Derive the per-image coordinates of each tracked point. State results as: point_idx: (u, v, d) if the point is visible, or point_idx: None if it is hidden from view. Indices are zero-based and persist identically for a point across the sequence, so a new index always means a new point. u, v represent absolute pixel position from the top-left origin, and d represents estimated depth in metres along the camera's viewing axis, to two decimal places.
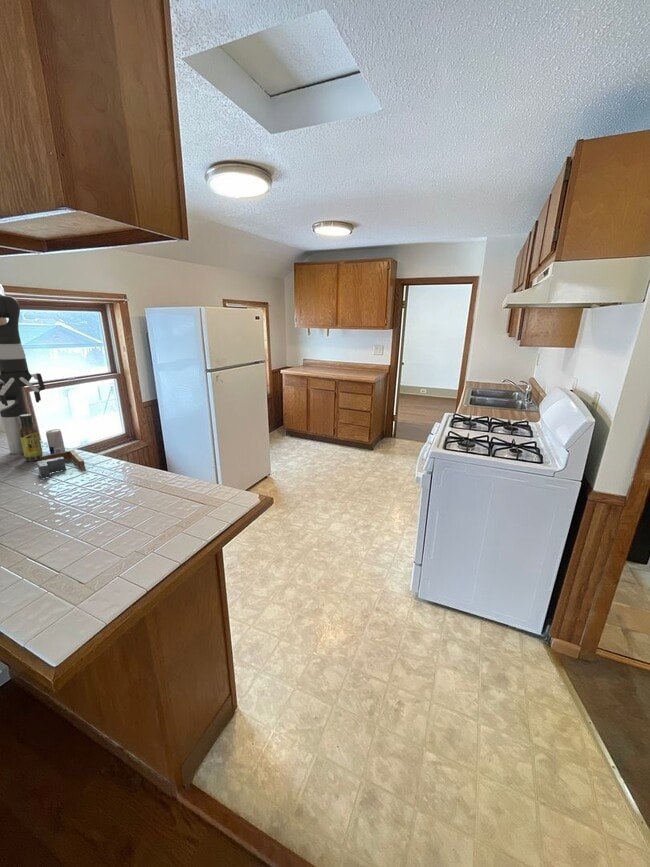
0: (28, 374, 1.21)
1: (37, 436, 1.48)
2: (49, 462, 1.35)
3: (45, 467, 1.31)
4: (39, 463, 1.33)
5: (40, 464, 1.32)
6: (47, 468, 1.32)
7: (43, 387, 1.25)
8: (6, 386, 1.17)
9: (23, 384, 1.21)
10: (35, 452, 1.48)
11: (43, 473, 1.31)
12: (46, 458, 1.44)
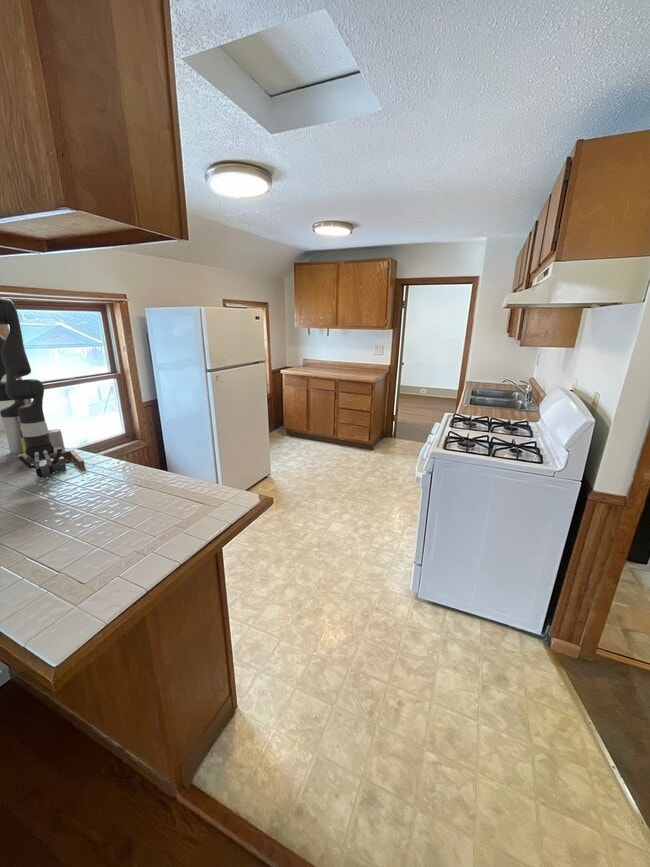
0: (52, 447, 1.32)
1: None
2: None
3: (45, 467, 1.31)
4: (39, 463, 1.33)
5: (40, 464, 1.32)
6: (47, 468, 1.32)
7: (56, 461, 1.34)
8: (36, 460, 1.29)
9: (42, 456, 1.31)
10: None
11: (43, 473, 1.31)
12: None
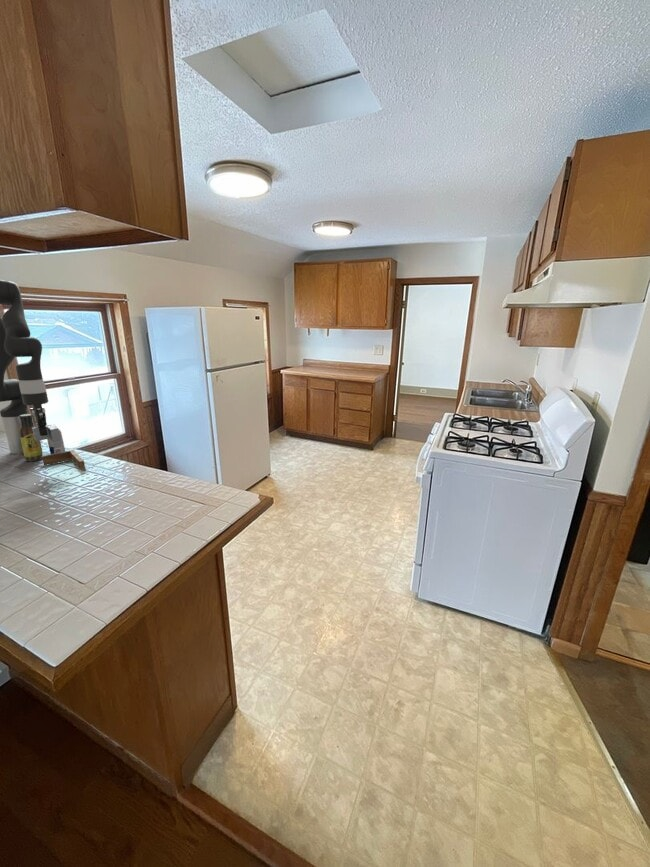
0: (35, 409, 1.30)
1: None
2: (48, 428, 1.35)
3: None
4: None
5: None
6: (33, 431, 1.33)
7: (38, 424, 1.31)
8: (33, 416, 1.34)
9: (35, 415, 1.33)
10: (35, 452, 1.48)
11: None
12: (46, 458, 1.44)
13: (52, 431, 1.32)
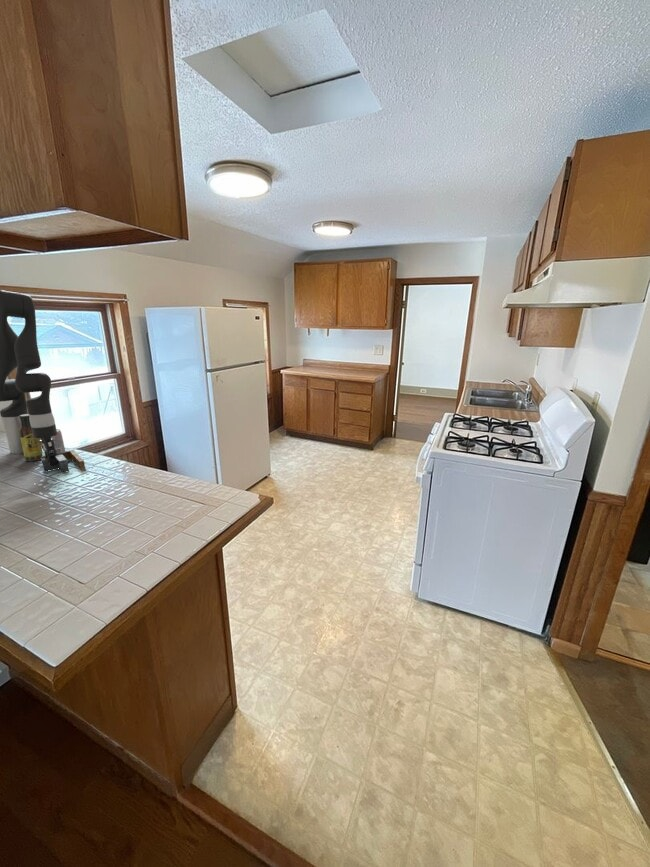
0: (44, 441, 1.34)
1: None
2: (56, 459, 1.39)
3: (42, 461, 1.37)
4: None
5: None
6: (42, 463, 1.37)
7: (48, 455, 1.33)
8: (41, 446, 1.39)
9: (45, 448, 1.36)
10: (35, 452, 1.48)
11: None
12: None
13: (61, 462, 1.36)
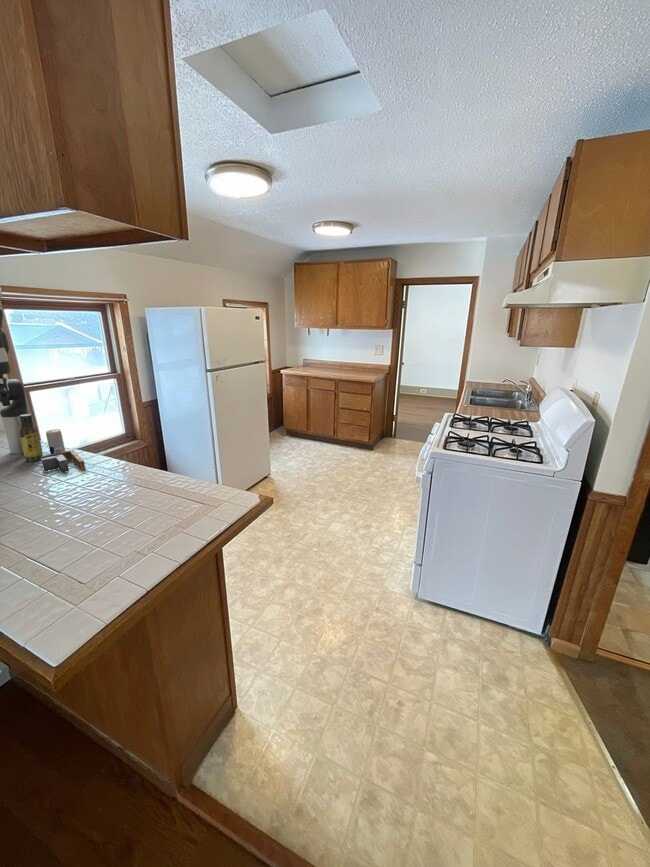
0: None
1: (37, 436, 1.48)
2: (56, 459, 1.39)
3: (42, 461, 1.37)
4: (54, 456, 1.40)
5: (49, 457, 1.39)
6: (42, 463, 1.37)
7: None
8: None
9: None
10: (35, 452, 1.48)
11: None
12: None
13: (61, 462, 1.36)
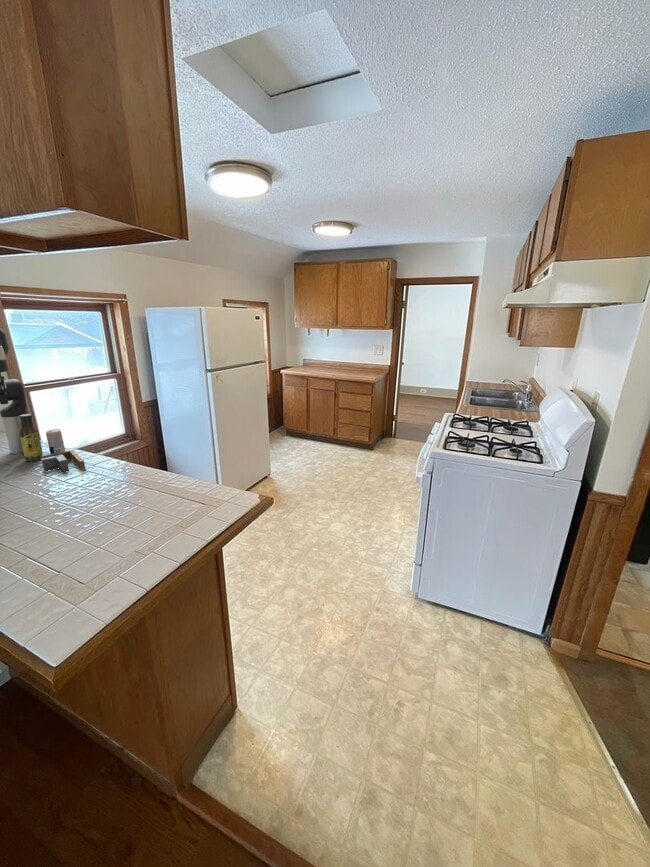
0: None
1: (37, 436, 1.48)
2: (56, 459, 1.39)
3: (42, 461, 1.37)
4: (54, 456, 1.40)
5: (49, 457, 1.39)
6: (42, 463, 1.37)
7: None
8: None
9: None
10: (35, 452, 1.48)
11: None
12: None
13: (61, 462, 1.36)
